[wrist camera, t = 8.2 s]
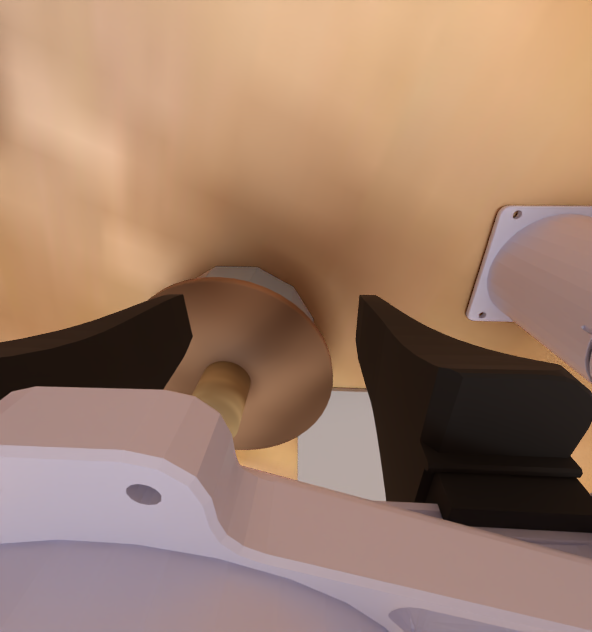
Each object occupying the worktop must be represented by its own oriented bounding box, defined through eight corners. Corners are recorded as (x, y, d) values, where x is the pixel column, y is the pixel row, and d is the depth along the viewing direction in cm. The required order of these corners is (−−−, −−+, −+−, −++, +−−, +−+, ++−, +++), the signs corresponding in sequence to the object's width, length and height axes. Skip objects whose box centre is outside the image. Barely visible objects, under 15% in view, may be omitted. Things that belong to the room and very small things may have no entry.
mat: (492, 393, 25) (494, 396, 25) (444, 503, 33) (446, 507, 33) (298, 386, 26) (297, 389, 26) (298, 495, 34) (297, 499, 34)
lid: (375, 348, 18) (392, 399, 14) (270, 463, 24) (261, 520, 20) (166, 229, 15) (116, 253, 11) (106, 393, 21) (60, 444, 18)
